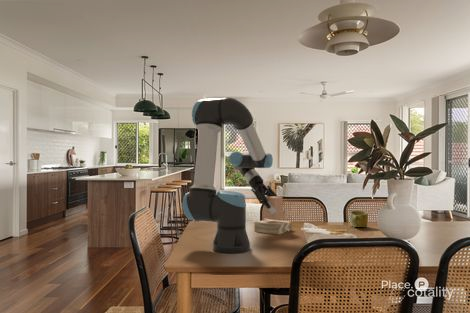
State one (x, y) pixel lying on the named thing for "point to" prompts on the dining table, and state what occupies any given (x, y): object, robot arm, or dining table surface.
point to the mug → (358, 219)
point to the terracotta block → (277, 204)
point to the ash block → (273, 226)
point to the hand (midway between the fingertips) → (278, 212)
